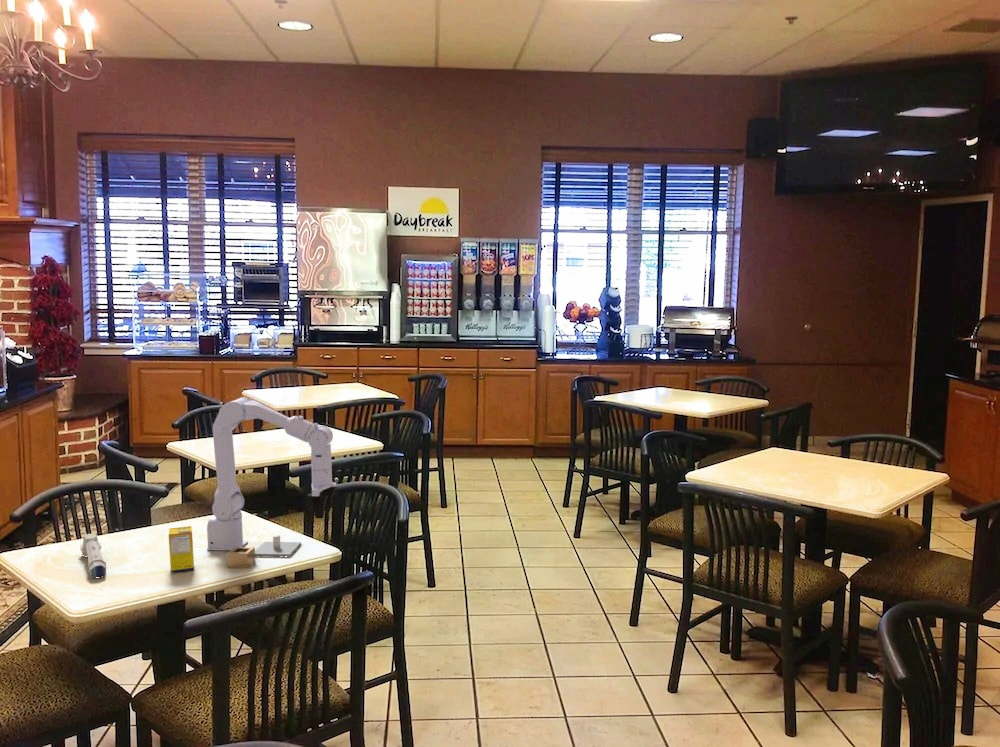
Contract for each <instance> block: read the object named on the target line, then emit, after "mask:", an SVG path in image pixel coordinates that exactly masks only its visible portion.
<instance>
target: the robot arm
mask: <svg viewBox="0 0 1000 747" xmlns="http://www.w3.org/2000/svg"><path fill="white" fill-rule="evenodd" d="M218 410H219V411H218V414H217V416H216V418H215V420H214V422H213V424H212V437H213V447H214V450H213V451H214V458H215V459H214V460H215V470H216V481H217V488H216V490H215V491H214V492H215V493H214V496H213V497H214V500H213V504H212V506H211V507H212V508H211V511H212V514H213V516H212V517H210V518H209V519H208V522H207V526H206V533H207V535H206V536H207V548H206V551H231V550H232V549H233V548H234V547H245V546H246V544H248V543H249V541H248V540H244V538H243V537H244V535H243V514H242V511H241V510H242V509H243V508H244V505H245V498H244V496H243V494H242V492H241V487H240V486H239V484H238V483H237V476H236V475H237V474H236V473H237V471H236V462H235V460H236V459H235V452H234V451H235V450H234V439H233V438H234V437H233V431H234V429H235V428H236V427H237V426H238V425H239V424H240V423H241V422H243V421H250V420H255V419H258V420H261V421H264V422H266V423H269V424H273V425H275V426H278V427H281V428H283V429H284V431H285V433H286V434H287V435H289V436H291V437H293V438H295V439H298V440H300V441H301V442H305V443H308V445H309V446H310V448H311V449H310V451H311V454H310V461H311V462H310V463H311V465H310V466H311V484H310V485H311V493H309V494H307V499H308V500H309V502H310V504H311V506H312V510H313V513H314V518H315V519H324V516H325V512H329V511H331V508H332V503H333V497H334V495H335V492H336V489H337V482H333V473H332V472H333V468H332V467H333V465H332V449H331V448H332V447H331V446H332V445H331V442H332V440H333V438H334V434H333V431H332V430H331V428H330V427H328V426H327V425H324V424H323V425H319V423H317V422H314V423H313V422H311V421H308V420H306V419H304V416H302V415H298V416H297V415H293V416H291V417H289V416H287V415H284V414H283V413H281V412H279V411H276V410H275V409H272V408H270V407H268V406H267V405H264V404H262V403H260V402H258V401H257V400H253V399H249V398H248V397H245V396H244V397H243V396H242V397H239V398H237V399H235V400H231V401H228V402H227V403H224V405H223V406H222V407H220V408H219V409H218Z"/></svg>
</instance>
